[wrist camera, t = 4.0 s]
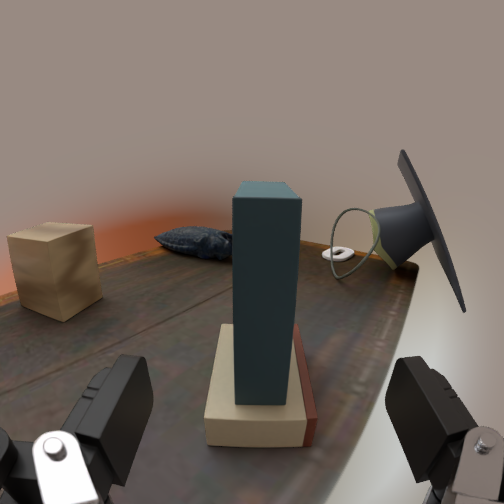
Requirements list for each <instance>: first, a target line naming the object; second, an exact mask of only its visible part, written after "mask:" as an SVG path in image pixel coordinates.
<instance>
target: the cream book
mask: <svg viewBox="0 0 504 504" xmlns="http://www.w3.org/2000/svg"><path fill="white" fill-rule="evenodd" d="M317 419H318V417H317V412H316V407H315V402H314V397H313V392H312V388H311V383H310V378H309V373H308V369H307V364H306V359H305V355H304V350H303V345H302V341H301V336H300V332H299V327H298V324H294V330H293V341H292V352H291V362H290V372H289V381H288V391H287V399H286V405H235V396H234V350H233V324H222V325H221V330H220V335H219V340H218V346H217V351H216V356H215V361H214V366H213V371H212V377H211V382H210V387H209V392H208V398H207V403H206V408H205V414H204V424H205V432H206V439H207V445H213V446H230V447H306V446H311V445H312V440H313V436H314V432H315V428H316V423H317Z"/></svg>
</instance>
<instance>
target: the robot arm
mask: <svg viewBox="0 0 504 504" xmlns="http://www.w3.org/2000/svg"><path fill="white" fill-rule="evenodd" d="M385 406H386V410H387V413H388V415H389V417H390V419H391V422H392V424H393V426H394V429H395V431H396V434H397V436H398V438H399V441H400V443H401V445H402V448H403V451H404V453H405V455H406V458H407V460H408V463H409V465H410V468H411V470H412V473H413V475H414V478H415V481H416V483H420V482H423V481H427V480H430V482H431V486H430V488H429V490H428V492H427V494H426V497H425V499H424V502H423V504H504V438H503V437H502V436H501V435H500V434H499V433H498V432H497V431H496V430H494V429H492V428H489V427H484V426H481V427H479V426H478V425H477V423H476V422H475V420H474V419H473V418H472V416H471V414H470V413H469V412H468V410H467V408H466V407H465V405H464V404H463V402H462V401H461V400H460V398H459V397H457V394H456V392H455V391H454V390H453V389H452V387H451V385H450V384H449V383H448V381H447V379H446V378H445V377H444V376H443V375H441V374H440V373H438V372H437V371H436V370H434V369H430V368H429V367H428V365H427V364H426V362H425V361H424V360H423V358H422V357H421V356H414V357H405V358H399V359H398V360H397V361H396V363H395V367H394V370H393V373H392V376H391V379H390V382H389V386H388V389H387V392H386V396H385ZM152 407H153V391H152V386H151V382H150V377H149V372H148V368H147V363H146V360H145V358H144V357H141V356H132V355H124V354H121V355H120V356H119V357H118V359H117V360H116V362H115V364H114V365H113V367H112V368H107V367H106V368H104V369H103V370H101V371H100V372H99V373H97V374H96V375H95V376H94V377H93V378H92V380H91V381H90V383H89V384H88V386H87V389H85V391H84V392H83V394H82V397H81V398H80V399H79V400H78V402H77V403H76V405H75V406H74V408H73V410H72V411H71V413H70V414H69V416H68V418H67V419H66V421H65V423H64V424H63V426H62V428H61V429H60V430H58V431H50V432H47V433H44V434H43V435H41V436H40V437H39V438H38V439H37V440H36V441H35V442H24V441H13V440H11V439H10V437H9V436H8V434H7V433H6V431H5V430H4V429H2V428H0V490H1V488H3V489H4V491H3V493H2V495H1V498H0V504H114V503H113V501H112V498H111V496H110V494H109V490H110V487H111V485H112V484H116V485H120V486H125V483H126V480H127V478H128V475H129V472H130V469H131V466H132V463H133V460H134V458H135V455H136V452H137V449H138V446H139V444H140V441H141V438H142V435H143V433H144V430H145V427H146V424H147V422H148V419H149V416H150V414H151V411H152Z"/></svg>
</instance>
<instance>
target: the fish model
mask: <svg viewBox="0 0 504 504" xmlns="http://www.w3.org/2000/svg"><path fill="white" fill-rule="evenodd" d="M154 238H155V239H156V240H157V241H158V242H159V243H160V244H161V245H163V246H164V247H166V248H169V249H171V250H173V251H177V252H181V253H185V254H190V255H195V256H198V257H200V258H203V259H208V258H216V257H217V258H218V259H219V260H222V259H224V258H227V257H228V256H230V255H232V234H229V233H226V232H224V231H220V230H216V229H212V228H207V227H196V226H195V227H194V226H193V227H191V226H190V227H181V228H176V229H173V230H170V231H168V232H164V233H162V234H160V235H158V236H156V237H154Z"/></svg>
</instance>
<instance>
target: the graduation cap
mask: <svg viewBox="0 0 504 504" xmlns="http://www.w3.org/2000/svg"><path fill="white" fill-rule="evenodd" d="M398 167H399V169H400V171H401V173H402V175H403V177H404V179H405V181H406V183H407V185H408V187H409V190H410V192H411V194H412V196H413V198H414V201H415V203H412V204H409V205H404V206H395V207H388V208H380V209H375V210H371V211H368V212H370V213H371V214H373V215H374V216H375V217H376V218H377V220H378V221H379V223H380V226H381V234H380V238H379V241H378V243H377V245H376V247H375V248H374V251H375V252H376V253H377V254H378V255H379V256H380V257H381V258H382V259H383V260H384V261H385V262H386V263H387V264H388V265H389V266H390V267H391V269H392V270H394V269H396V268H397V267H398V266H400V265H401V264H402V263H404V262H405V261H406V260H407V259H409V258H410V257H411V256H412V255H413V254H414V253H416V252H417V251H418V250H419V249H420V248H422V247H423V246H424V245H426V244H427V243H429V242H432V245H433V247H434V250H435V253H436V255H437V257H438V259H439V261H440V263H441V265H442V267H443V269H444V271H445V274H446V275H447V278H448V280H449V282H450V284H451V286H452V288H453V291H454V293H455V295H456V297H457V300H458V302H459V304H460V307H461V309H462V311H463V312H466V308H465V304H464V300H463V297H462V293H461V289H460V286H459V282H458V279H457V276H456V272H455V269H454V266H453V263H452V260H451V257H450V254H449V251H448V248H447V245H446V243H445V240H444V237H443V235H442V232H441V229H440V227H439V224H438V222H437V219H436V217H435V214H434V212H433V210H432V207H431V205H430V202H429V200H428V198H427V195H426V193H425V191H424V189H423V187H422V185H421V182H420V180H419V178H418V176H417V174H416V172H415V170H414V168H413V166H412V164H411V162H410V160H409V158H408V156H407V154H406V152H405V151H404V150H401V151H400V155H399V160H398ZM369 218H370V221H371V225H372V232H373V244H374V243H375V240H376V238H377V235H378V225H377V223H376V221H375V219H374V218H373V217H372V216H371V215H369Z"/></svg>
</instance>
